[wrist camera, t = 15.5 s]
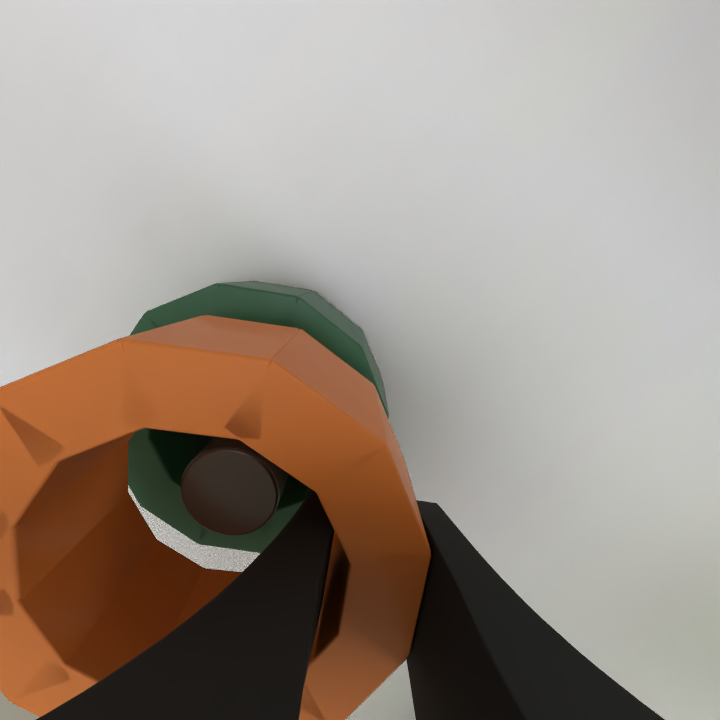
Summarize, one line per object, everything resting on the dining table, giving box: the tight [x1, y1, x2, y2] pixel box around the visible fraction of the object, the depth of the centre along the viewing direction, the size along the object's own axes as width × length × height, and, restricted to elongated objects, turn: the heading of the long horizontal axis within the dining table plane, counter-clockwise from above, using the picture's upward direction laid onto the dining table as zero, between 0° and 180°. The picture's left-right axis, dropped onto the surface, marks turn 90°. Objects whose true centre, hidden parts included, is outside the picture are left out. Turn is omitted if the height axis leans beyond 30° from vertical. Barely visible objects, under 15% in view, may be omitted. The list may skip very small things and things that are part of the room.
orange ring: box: [0, 315, 431, 720], centre depth 9 cm, size 9×9×4 cm
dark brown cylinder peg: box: [181, 357, 386, 536], centre depth 13 cm, size 9×9×7 cm
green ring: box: [128, 281, 389, 553], centre depth 14 cm, size 9×9×4 cm
